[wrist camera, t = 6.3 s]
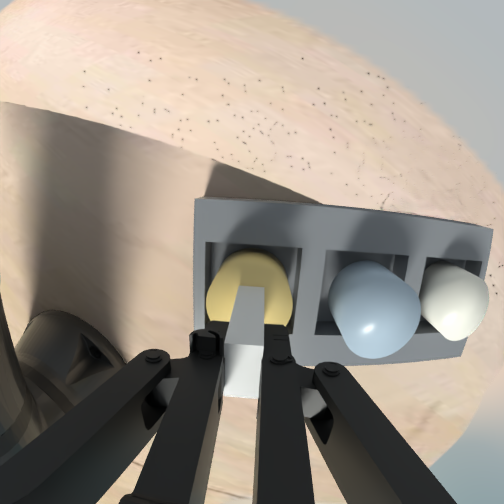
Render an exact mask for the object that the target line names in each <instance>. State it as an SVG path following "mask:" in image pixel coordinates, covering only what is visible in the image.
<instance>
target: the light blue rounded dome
mask: <svg viewBox="0 0 504 504" xmlns="http://www.w3.org/2000/svg"><path fill="white" fill-rule="evenodd" d="M328 305H329V309H330V312H331V314H332V316H333V318H334V320H335V322H336V324H337V326H338V328H339V330H340V332H341V334H342V336H343V338H344V341H345V343H346V345H347V346H348V348H349V349H350V350H351V351H352V352H353V353H355V354H356V355H358V356H360V357H364V358H369V359H376V358H382V357H386V356H388V355H391V354H393V353H395V352H396V351H398V350H399V349H401V348H402V347H403V346H404V345H405V344H406V343H407V342H408V341H409V340H410V339H411V337H412V336H413V334H414V333H415V331H416V329H417V327H418V324H419V321H420V316H421V305H420V300H419V297H418V295H417V293H416V292H415V291H414V289H413V288H412V287H411V286H409V285H408V284H407V283H405V282H404V281H403V280H401V279H400V278H399V277H397V276H396V275H395V274H393V273H392V272H391V271H389V270H388V269H387V268H385V267H384V266H383V265H381V264H379V263H377V262H374V261H369V260H363V261H358V262H354V263H352V264H350V265H348V266H346V267H345V268H344V269H342V270H341V271H340V272H339V273H338V274H337V275H336V277H335V278H334V280H333V281H332V284H331V286H330V289H329V293H328Z"/></svg>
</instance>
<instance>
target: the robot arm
mask: <svg viewBox="0 0 504 504" xmlns="http://www.w3.org/2000/svg"><path fill="white" fill-rule="evenodd" d="M189 340H190V354H189V356H188V357H186V358H181V359H170V355H169V354H168V353H167V352H165V351H163V350H159V349H149V350H145V351H143V352H141V353H140V354H138V355H137V356H136V357H135V358H133V359H132V360H131V361H130V362H129V363H127V364H125V362H124V361H123V359H122V358H121V356H120V355H119V353H118V352H117V351H116V349H115V348H114V347H113V346H112V345H111V344H110V342H109V341H108V340H107V339H106V338H105V337H104V336H103V335H102V334H101V333H99V332H98V331H97V330H96V329H95V328H94V327H92V326H91V325H89V324H88V323H87V322H85V321H84V320H82V319H80V318H78V317H76V316H74V315H72V314H69V313H66V312H63V311H56V310H51V311H46V312H43V313H41V314H39V315H38V316H36V317H35V318H34V319H32V320H31V322H30V323H29V324H28V325H27V327H26V329H25V331H24V334H23V336H22V337H21V339H20V340H19V342H18V344H17V345H16V347H15V349H14V346H13V342H12V339H11V336H10V332H9V328H8V324H7V321H6V316H5V312H4V308H3V303H2V299H1V294H0V504H96V503H97V502H98V501H99V499H100V498H101V497H102V496H103V495H104V494H105V493H106V492H107V490H108V489H109V488H110V487H111V486H112V485H113V483H114V482H115V481H116V480H117V479H118V478H119V477H120V475H121V474H122V473H123V472H124V471H125V469H126V468H127V467H128V466H129V465H130V464H131V462H132V461H133V460H134V459H135V458H136V456H137V455H138V454H139V453H140V452H141V450H142V449H143V448H144V447H145V446H146V444H147V443H148V442H149V441H150V440H151V438H152V437H153V436H154V435H155V433H156V432H157V434H156V436H155V438H154V441H153V443H152V446H151V448H150V451H149V453H148V456H147V458H146V461H145V463H144V466H143V468H142V471H141V474H140V476H139V479H138V481H137V484H136V486H135V489H134V491H133V492H132V493H131V494H127V495H124V496H123V497H122V498H121V500H120V502H119V504H204V500H205V495H206V490H207V484H208V479H209V474H210V468H211V463H212V458H213V452H214V447H215V442H216V436H217V431H218V426H219V420H220V415H221V410H222V404H223V391H224V396H230V397H241V398H255V399H258V407H257V417H256V419H257V429H256V448H255V467H254V485H253V502H252V504H315V501H314V493H313V484H312V475H311V467H310V459H309V451H308V443H307V436H306V428H305V423H306V425H307V427H308V429H309V431H310V433H311V435H312V437H313V439H314V441H315V443H316V444H317V446H318V448H319V450H320V452H321V454H322V456H323V458H324V460H325V462H326V464H327V466H328V468H329V470H330V472H331V474H332V476H333V477H334V479H335V481H336V483H337V485H338V487H339V489H340V491H341V493H342V495H343V496H344V498H345V500H346V502H347V504H457V503H456V502H455V501H454V499H453V498H452V497H451V496H450V495H449V493H448V492H447V491H446V490H445V488H444V487H443V486H442V485H441V483H440V482H439V481H438V480H437V479H436V478H435V476H434V475H433V474H432V472H431V471H430V470H429V469H428V468H427V466H426V465H425V464H424V463H423V461H422V460H421V459H420V458H419V457H418V455H417V454H416V453H415V452H414V450H413V449H412V448H411V447H410V446H409V444H408V443H407V442H406V441H405V439H404V438H403V437H402V436H401V435H400V433H399V432H398V431H397V430H396V428H395V427H394V426H393V425H392V424H391V422H390V421H389V420H388V419H387V417H386V416H385V415H384V414H383V413H382V411H381V410H380V409H379V408H378V406H377V405H376V404H375V403H374V402H373V400H372V399H371V398H370V397H369V395H368V394H367V393H366V392H365V391H364V389H363V388H362V387H361V386H360V384H359V383H358V382H357V381H356V379H355V378H354V377H353V376H352V375H351V373H350V372H349V371H348V370H347V368H345V367H344V366H343V365H341V364H339V363H336V362H322V363H319V364H317V365H316V366H315V369H310V368H306V367H303V366H301V365H298V364H297V363H296V360H295V358H294V357H293V356H292V353H291V346H290V339H289V332H288V329H287V328H286V327H285V326H284V325H280V324H264V287H253V286H239V287H238V290H237V294H236V298H235V302H234V306H233V310H232V314H231V318H230V322H226V321H215V320H212V321H211V322H209V323H208V324H207V325H206V327H205V329H199V330H195V331H193V332H192V333H191V334H190V335H189ZM304 420H305V421H304Z"/></svg>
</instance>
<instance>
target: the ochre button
mask: <svg viewBox="0 0 504 504" xmlns="http://www.w3.org/2000/svg"><path fill="white" fill-rule="evenodd" d="M239 286H253V287H264V324H280V325H284V326H286V325H287V323H288V322H289V320H290V317H291V314H292V309H293V302H292V296H291V291H290V287H289V283H288V279H287V275H286V271H285V269H284V266H283V265H282V263H281V262H280V261H279V259H278V258H277V257H275V256H274V255H273V254H271V253H270V252H268V251H265V250H262V249H258V248H245V249H241V250H238V251H236V252H234V253H232V254H231V255H229V256H228V257H227V258H226V259H225V260H224V262H223V263H222V265H221V266H220V268H219V270H218V272H217V274H216V276H215V278H214V280H213V282H212V284H211V286H210V288H209V290H208V293H207V297H206V309H207V313H208V316H209V319H210V321H212V320H215V321H226V322H230V318H231V314H232V310H233V306H234V302H235V298H236V294H237V290H238V287H239Z"/></svg>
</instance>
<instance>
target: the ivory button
mask: <svg viewBox="0 0 504 504" xmlns="http://www.w3.org/2000/svg"><path fill="white" fill-rule="evenodd" d="M419 300H420V305H421V315H422V316H423V317H424V318H425V319H426V320H427V321H428V322H429V323H430V324H432V325H433V326H434V327H435V328H436V329H437V330H438V331H439V332H440V333H441V334H442V335H443V336H444V337H445V338H446V339H448V340H451V341H458V340H461V339H464V338H466V337H467V336H469V335H470V334H471V333H473V332H474V331H475V330H476V328H477V327H478V326H479V325H480V323H481V322H482V320H483V318H484V316H485V314H486V311H487V307H488V303H489V291H488V287H487V285H486V283H485V282H484V280H483V279H481V278H479V277H478V276H476V275H474V274H472V273H470V272H468V271H466V270H464V269H462V268H460V267H458V266H456V265H454V264H452V263H450V262H447V261H439V262H436V263H434V264H432V265H430V266H429V267H428V268H427V269H426V270H425V271H424V273H423V278H422V283H421V288H420V292H419Z"/></svg>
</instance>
